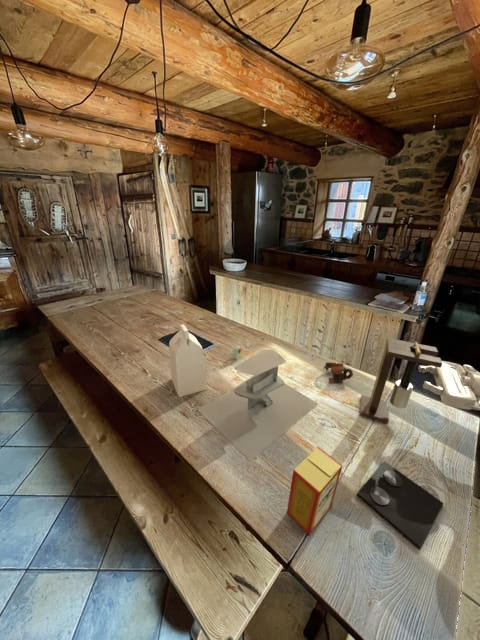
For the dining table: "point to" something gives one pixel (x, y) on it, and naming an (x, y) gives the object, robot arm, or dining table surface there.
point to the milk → (187, 363)
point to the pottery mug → (338, 372)
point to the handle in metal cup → (405, 382)
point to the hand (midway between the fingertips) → (420, 376)
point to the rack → (397, 349)
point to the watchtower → (257, 406)
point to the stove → (401, 503)
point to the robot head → (236, 352)
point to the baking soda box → (313, 489)
